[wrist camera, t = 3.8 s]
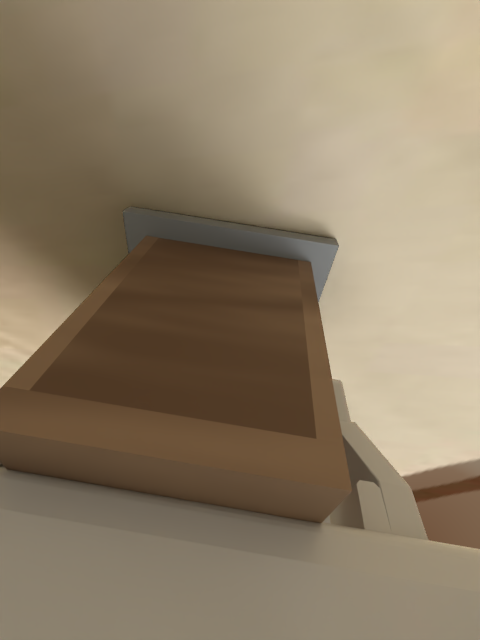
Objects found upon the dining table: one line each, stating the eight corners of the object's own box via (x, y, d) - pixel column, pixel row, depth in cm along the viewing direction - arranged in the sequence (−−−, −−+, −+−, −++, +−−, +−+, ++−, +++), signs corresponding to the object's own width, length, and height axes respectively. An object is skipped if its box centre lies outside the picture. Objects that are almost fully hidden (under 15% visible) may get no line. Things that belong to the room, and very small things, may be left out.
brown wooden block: (146, 235, 11) (-34, 425, 5) (311, 262, 11) (352, 491, 5) (157, 351, 15) (69, 535, 9) (277, 371, 15) (274, 571, 9)
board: (129, 206, 11) (27, 281, 6) (336, 239, 11) (373, 338, 6) (148, 351, 16) (98, 448, 12) (288, 374, 16) (291, 482, 11)
